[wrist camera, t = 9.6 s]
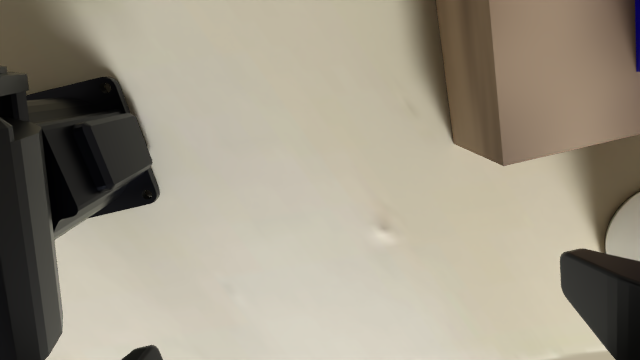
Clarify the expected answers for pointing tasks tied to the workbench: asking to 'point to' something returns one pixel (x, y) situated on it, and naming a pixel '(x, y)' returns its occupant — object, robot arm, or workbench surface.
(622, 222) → the can
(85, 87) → the robot arm
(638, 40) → the cable holder
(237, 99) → the workbench surface
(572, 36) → the plate
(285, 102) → the workbench surface
